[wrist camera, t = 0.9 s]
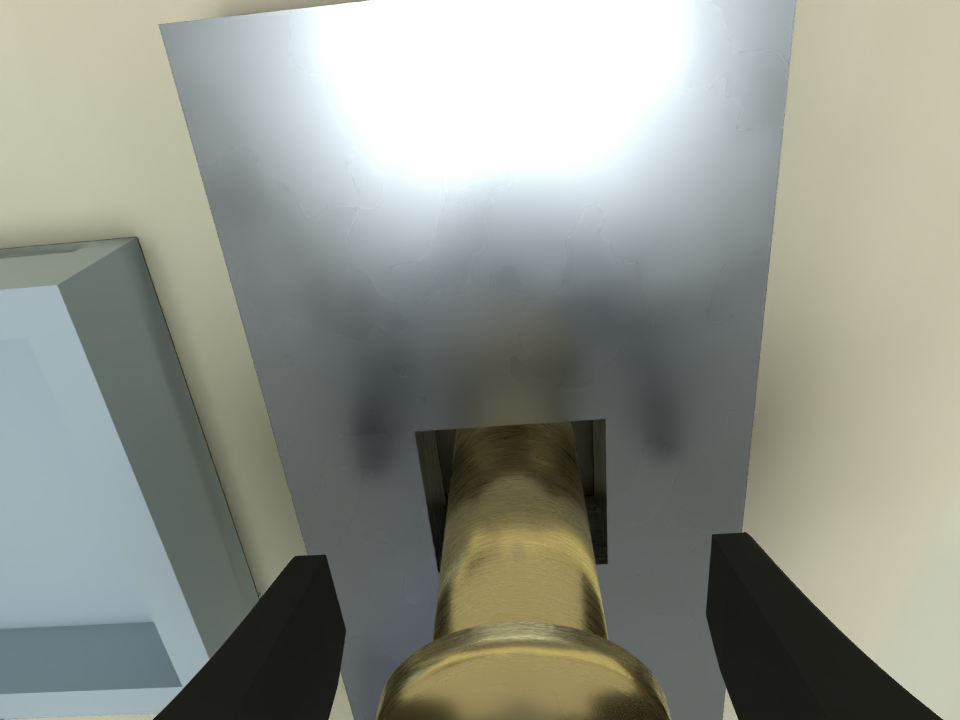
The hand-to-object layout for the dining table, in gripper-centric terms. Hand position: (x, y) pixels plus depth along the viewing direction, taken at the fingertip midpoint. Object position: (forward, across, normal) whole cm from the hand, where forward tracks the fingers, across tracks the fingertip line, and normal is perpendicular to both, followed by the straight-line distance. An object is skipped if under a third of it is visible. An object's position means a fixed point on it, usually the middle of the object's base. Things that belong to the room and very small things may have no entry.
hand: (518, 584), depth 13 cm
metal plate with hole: (+5, 0, 0) cm, 5 cm away
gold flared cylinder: (+5, 0, 0) cm, 5 cm away
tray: (+5, +14, 0) cm, 15 cm away
